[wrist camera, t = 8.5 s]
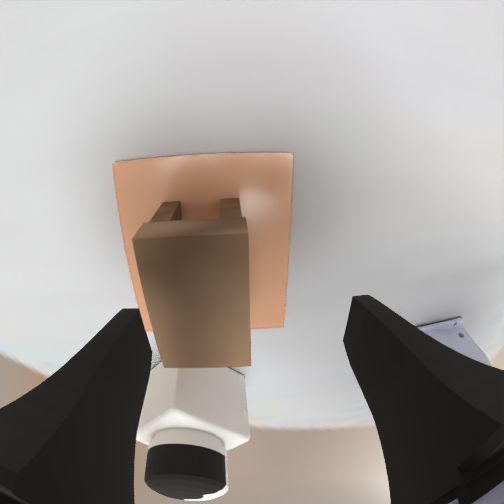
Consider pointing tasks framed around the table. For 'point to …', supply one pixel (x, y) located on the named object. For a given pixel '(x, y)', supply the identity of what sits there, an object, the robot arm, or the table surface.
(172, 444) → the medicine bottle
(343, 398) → the table surface
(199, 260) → the brown slotted block
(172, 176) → the terracotta tile
